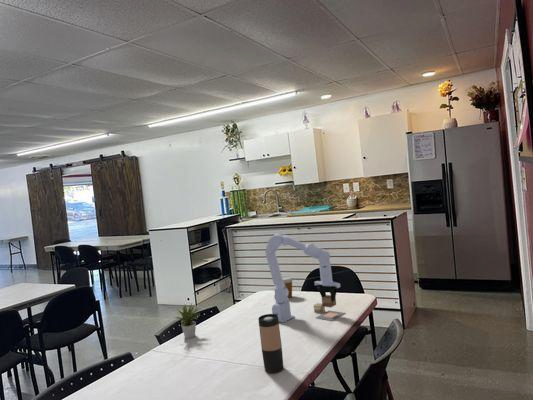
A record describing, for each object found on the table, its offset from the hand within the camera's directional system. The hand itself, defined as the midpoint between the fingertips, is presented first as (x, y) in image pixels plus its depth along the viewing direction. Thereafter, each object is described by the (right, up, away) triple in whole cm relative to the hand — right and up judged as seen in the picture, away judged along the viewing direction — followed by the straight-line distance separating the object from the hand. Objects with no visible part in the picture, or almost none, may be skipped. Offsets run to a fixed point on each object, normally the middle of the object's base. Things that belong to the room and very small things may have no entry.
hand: (328, 300), depth 200 cm
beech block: (-3, -8, +9) cm, 12 cm away
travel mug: (-29, -13, -51) cm, 60 cm away
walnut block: (0, -3, 0) cm, 3 cm away
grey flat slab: (+1, -8, 0) cm, 8 cm away
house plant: (-69, -17, -7) cm, 71 cm away
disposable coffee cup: (-19, -9, +43) cm, 48 cm away
